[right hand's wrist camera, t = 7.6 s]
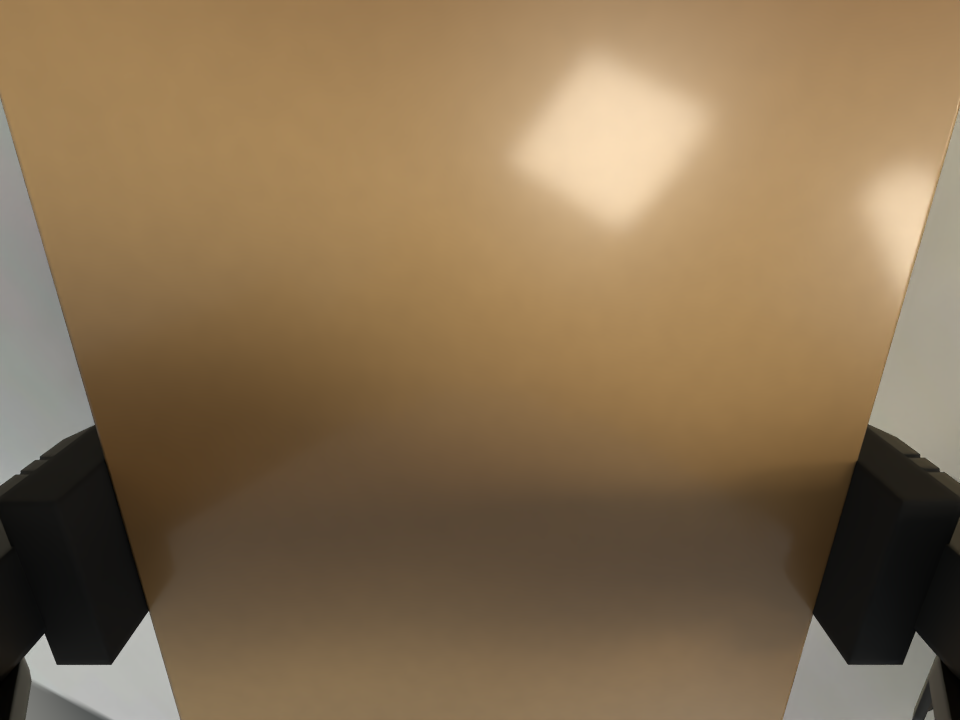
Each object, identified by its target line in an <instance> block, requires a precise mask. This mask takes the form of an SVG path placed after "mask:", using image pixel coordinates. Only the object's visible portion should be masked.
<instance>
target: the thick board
mask: <svg viewBox="0 0 960 720" xmlns="http://www.w3.org/2000/svg"><path fill="white" fill-rule="evenodd" d="M0 98H1V101H2V105H3V108H4V112H5V115H6V118H7V122H8V125H9V129H10V132H11V136H12V139H13V143H14V146H15V150H16V153H17V156H18V160H19V163H20V167H21V170H22V174H23V177H24V181H25V184H26V188H27V191H28V194H29V198H30V201H31V205H32V208H33V212H34V215H35V219H36V222H37V226H38V229H39V232H40V236H41V239H42V243H43V246H44V250H45V253H46V257H47V260H48V264H49V267H50V270H51V274H52V277H53V281H54V284H55V288H56V291H57V295H58V298H59V302H60V305H61V308H62V312H63V315H64V319H65V322H66V326H67V329H68V333H69V336H70V340H71V343H72V346H73V350H74V353H75V357H76V360H77V364H78V367H79V371H80V374H81V378H82V381H83V384H84V388H85V391H86V395H87V398H88V402H89V405H90V409H91V412H92V416H93V419H94V423H95V426H96V429H97V433H98V436H99V440H100V443H101V447H102V450H103V454H104V457H105V461H106V464H107V467H108V471H109V474H110V478H111V481H112V485H113V488H114V492H115V495H116V499H117V502H118V505H119V509H120V512H121V516H122V519H123V523H124V526H125V530H126V533H127V537H128V540H129V543H130V547H131V550H132V554H133V557H134V561H135V564H136V568H137V571H138V575H139V578H140V581H141V585H142V588H143V592H144V595H145V599H146V602H147V606H148V609H149V613H150V616H151V619H152V623H153V626H154V630H155V633H156V637H157V640H158V644H159V647H160V651H161V654H162V657H163V661H164V664H165V668H166V671H167V675H168V678H169V682H170V685H171V689H172V692H173V695H174V699H175V702H176V706H177V709H178V713H179V716H180V720H782V719H783V716H784V713H785V709H786V706H787V702H788V699H789V695H790V692H791V688H792V685H793V681H794V678H795V675H796V671H797V668H798V664H799V661H800V657H801V654H802V650H803V647H804V643H805V640H806V636H807V633H808V630H809V626H810V623H811V619H812V616H813V609H814V606H815V603H816V599H817V596H818V592H819V589H820V585H821V582H822V578H823V575H824V571H825V568H826V565H827V561H828V558H829V554H830V551H831V547H832V544H833V540H834V537H835V533H836V530H837V527H838V523H839V520H840V516H841V513H842V509H843V506H844V502H845V499H846V495H847V492H848V489H849V485H850V482H851V478H852V475H853V471H854V468H855V464H856V461H857V460H858V457H859V453H860V450H861V446H862V443H863V439H864V436H865V432H866V429H867V426H868V422H869V419H870V415H871V412H872V408H873V405H874V401H875V398H876V394H877V391H878V388H879V384H880V381H881V377H882V374H883V370H884V367H885V363H886V360H887V356H888V353H889V349H890V346H891V343H892V339H893V336H894V332H895V329H896V325H897V322H898V318H899V315H900V311H901V308H902V305H903V301H904V298H905V294H906V291H907V287H908V284H909V280H910V277H911V273H912V270H913V266H914V263H915V260H916V256H917V253H918V249H919V246H920V242H921V239H922V235H923V232H924V228H925V225H926V222H927V218H928V215H929V211H930V208H931V204H932V201H933V197H934V194H935V190H936V187H937V184H938V180H939V177H940V173H941V170H942V166H943V163H944V159H945V156H946V152H947V149H948V145H949V142H950V139H951V135H952V132H953V128H954V125H955V121H956V118H957V114H958V111H959V107H960V0H0Z"/></svg>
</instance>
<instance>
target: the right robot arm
mask: <svg viewBox="0 0 960 720" xmlns="http://www.w3.org/2000/svg"><path fill="white" fill-rule="evenodd" d="M148 611H149V609H148V606H147V602H146V599H145V595H144V592H143V588H142V585H141V581H140V578H139V575H138V571H137V568H136V564H135V561H134V557H133V554H132V550H131V547H130V543H129V540H128V537H127V533H126V530H125V526H124V523H123V519H122V516H121V512H120V509H119V505H118V502H117V499H116V495H115V492H114V488H113V485H112V481H111V478H110V474H109V471H108V467H107V464H106V461H105V457H104V454H103V450H102V447H101V443H100V440H99V436H98V433H97V429H96V426H95V425H94V426H92V427H89V428H87V429H85V430H83V431H81V432H79V433H76V434H74V435H72V436H70V437H68V438H66V439H64V440H62V441H61V442H59V443H58V444H57V445H55V446H54V447H52V448H51V449H50V450H48V451H47V452H46V453H44V454H43V455H42V456H40V460H35V461H33V462H32V463H31V464H29V465H28V466H27V467H25V468H24V469H23V470H21V473H20V475H14V476H13V477H12V478H10V479H9V480H8V481H6V482H5V483H4V484H2V485H1V486H0V720H25V719H26V712H27V706H28V700H29V694H30V688H31V682H32V681H31V675H30V670H29V667H28V665H27V662H26V660H25V658H24V656H25V655H26V654H27V653H28V652H29V651H30V649H31V648H32V647H33V646H34V645H35V644H36V643H37V641H38V640H39V639H40V638H41V637H42V636H43V634H44V633H45V635H46V638H47V641H48V643H49V646H50V648H51V651H52V653H53V656H54V659H55V661H56V664H57V665H112V663H113V662H114V660H115V659H116V657H117V656H118V654H119V653H120V652H121V650H122V649H123V647H124V646H125V644H126V643H127V641H128V640H129V639H130V637H131V636H132V634H133V633H134V631H135V630H136V628H137V627H138V626H139V624H140V623H141V621H142V620H143V618H144V617H145V615H146V614H147V613H148ZM813 615H814V616H815V618H816V619H817V620H818V622H819V623H820V625H821V626H822V628H823V629H824V631H825V632H826V633H827V635H828V636H829V638H830V639H831V641H832V642H833V644H834V645H835V646H836V648H837V649H838V651H839V652H840V654H841V655H842V657H843V658H844V659H845V661H846V662H847V664H848V665H903V662H904V660H905V657H906V655H907V652H908V649H909V647H910V644H911V642H912V639H913V637H914V634H915V631H916V632H917V633H918V634H919V635H920V636H921V637H922V639H923V640H924V641H925V642H926V643H927V644H928V645H929V647H930V648H931V649H932V650H933V651H934V652H935V653H936V658H935V660H934V662H933V665H932V667H931V670H930V672H929V674H928V677H927V679H926V682H925V684H924V686H923V689H922V691H921V694H920V696H919V699H918V701H917V703H916V706H915V708H914V713H913V719H912V720H924V719H925V717H926V714H927V712H928V711H930V710H932V709H933V711H934V717H935V720H960V483H959V482H957V481H956V480H955V479H953V478H952V477H950V476H949V475H948V474H946V473H945V472H940V471H939V468H938V467H937V466H935V465H934V464H933V463H931V462H930V461H928V460H927V459H926V458H920V454H919V453H918V452H916V451H915V450H913V449H912V448H911V447H909V446H908V445H907V444H905V443H904V442H902V441H901V440H900V439H898V438H897V437H895V436H893V435H890V434H888V433H886V432H884V431H882V430H880V429H877V428H875V427H873V426H871V425H869V424H868V426H867V429H866V432H865V436H864V439H863V443H862V446H861V450H860V453H859V457H858V460H857V461H856V464H855V468H854V471H853V475H852V478H851V482H850V485H849V489H848V492H847V495H846V499H845V502H844V506H843V509H842V513H841V516H840V520H839V523H838V527H837V530H836V533H835V537H834V540H833V544H832V547H831V551H830V554H829V558H828V561H827V565H826V568H825V571H824V575H823V578H822V582H821V585H820V589H819V592H818V596H817V599H816V603H815V606H814V609H813Z"/></svg>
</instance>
